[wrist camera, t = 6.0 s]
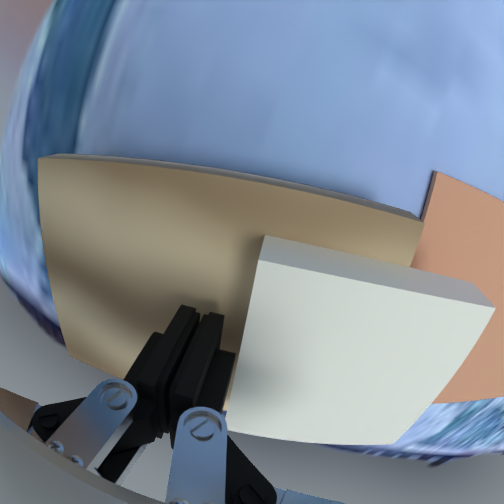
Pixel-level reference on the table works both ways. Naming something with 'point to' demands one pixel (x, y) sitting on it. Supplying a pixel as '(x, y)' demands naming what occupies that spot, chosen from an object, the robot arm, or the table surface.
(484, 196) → the mat
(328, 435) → the coaster
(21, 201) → the table surface
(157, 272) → the serving board
